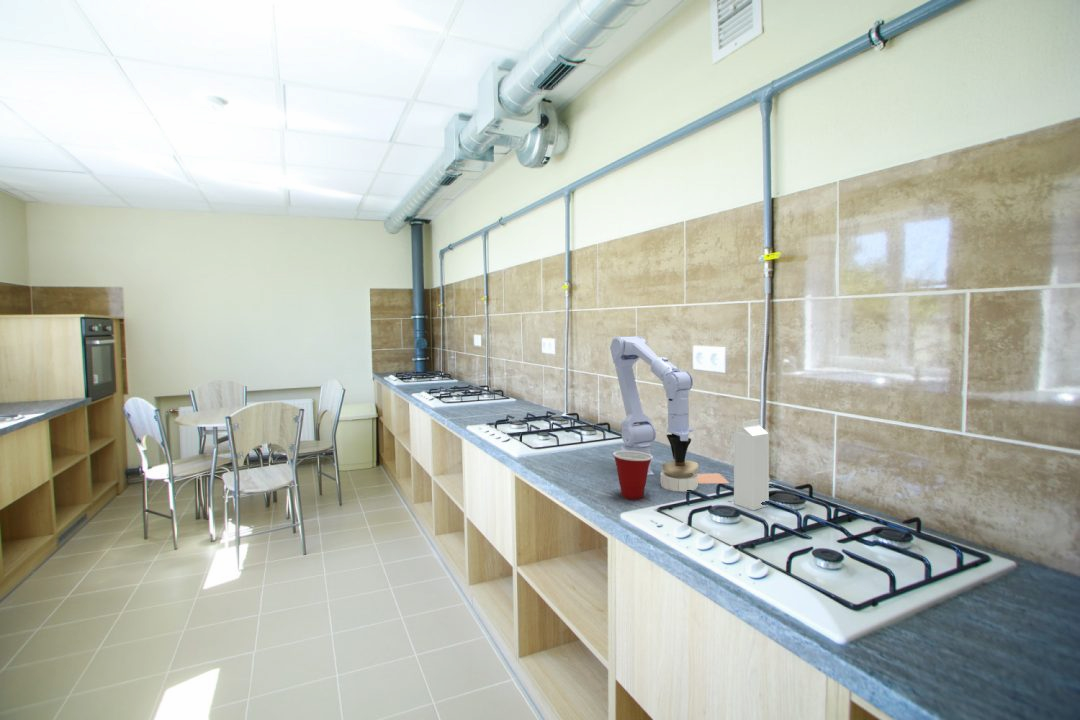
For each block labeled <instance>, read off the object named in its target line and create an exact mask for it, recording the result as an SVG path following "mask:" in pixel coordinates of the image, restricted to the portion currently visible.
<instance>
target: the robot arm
mask: <svg viewBox="0 0 1080 720" xmlns="http://www.w3.org/2000/svg"><path fill="white" fill-rule="evenodd" d="M609 346H610V347H609V348H610V353H611V357H612V362H613V364H614V368H615V371H616V376H617V381H618V385H619V389H620V390H619V391H620V393H621V397H622V402H623V406H624V410H625V414H626V416H625V418H624V419H623V420H622V422H621V423H620V426H621V427H620V428H621V439H622V441H623V443H624V445H621V446H620V451H637V452H643V453H647V454H650V455H652V454H651V446H652V445H653V442H654V441H655V440H656V436H657V431H656V428H655V426H654V425H653V423H652V419H651V418H650V417H649V416H647V415H646V414H645V413H644V412H643V407H642V404H641V403H642V402H641V400H640V395H639V389H638V386H637V382H636V378H635V373H634V371H633V370H634V369H633V365H634V364H636V363H637V362H638V361H639V359H641V360H642V361H644V362H645V363H646V364H648V365H649V366H650V371H651V373H652V374H654V375H655V377H656V378H658V379H659V380H660V381H661V382H662V386H663V389H664V391H665V397H666V398H667V427H668V428H667V429H666V430H667V432H668V433H670V434H666V437H667V441H668V442H669V445H670V449H671V454H672V458H673V461H675V459H676V462H677V463H683V462H684V461H685V460H686V456H687V451H688V448H689V446H690V444H691V442H692V439H691V438H690V437H689V433H693V432H694V429H693V428H692V427H690V425H689V423H690V421H689V419H690V418H689V417H690V416H689V413H690V412H689V411H690V409H689V392H690V390H691V389H692V387H693V386H694V385H693V383H694V381H693V376H692V374H691V373H690V372H689V371H688V370H681V369H679V368H678V367H677V366H676V365H674V364H673V363H672V362H671V361H669V358H668V357H663V356H660V357H659V356H658V355H657V354H656V353H655V352H654V351H653V350H652V349H651V348H650V347H649V346H648V345H647V340H646V339H645V338H644V337H642V335H635V336H614V338H613V339H612V340H611V344H610V345H609ZM674 453H675V456H674ZM651 461H652V460H651ZM651 461H650V464H649V467H648V473H647V476H650V475H654V472H653V470H652V469H651V468H652V467H651V465H652V462H651Z"/></svg>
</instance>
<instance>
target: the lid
mask: <svg viewBox="0 0 1080 720" xmlns="http://www.w3.org/2000/svg"><path fill="white" fill-rule="evenodd" d="M674 456H675V453H674ZM699 468H700V467H699V463H697V462H696V461H692V460H686V459H685V461H684V462H683V463H677V462H676V459H675V460H671V461H666V462H664V463H663V464H662V472H663V471H664V472H667V473H671V474H689V473H693V472H695V473H696V472H698V471H699Z"/></svg>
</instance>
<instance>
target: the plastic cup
mask: <svg viewBox="0 0 1080 720" xmlns="http://www.w3.org/2000/svg"><path fill="white" fill-rule="evenodd" d="M612 455H613V457H614V461H615V466H616V470H617V471H616V472H617V476H618V477H617V478H618V482H619V483H618V484H619V487H620V493H621V497H622V498H623V499H626V500H631V501H632V500H633V501H635V500H641V499H643V498H644V495H645V490H646V484H647V479H648V475H647V473H648V467H649V464H650V461H652V459H653V458H654V455H652V454H651V455H650V454H647V453H643V452H637V451H621V450H618V451H614V452H613V453H612Z"/></svg>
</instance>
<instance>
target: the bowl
mask: <svg viewBox="0 0 1080 720" xmlns="http://www.w3.org/2000/svg"><path fill="white" fill-rule="evenodd" d="M697 474H698V473H696V472H693V473H689V474H671V473H667V472H664V471H663V470H662V472H661V471H660V485H661V488H663V489H665V490H668V491H673V492H688V491H687V490H692V491H695V490H697V489H698V486H699V485H698V475H697Z"/></svg>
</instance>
